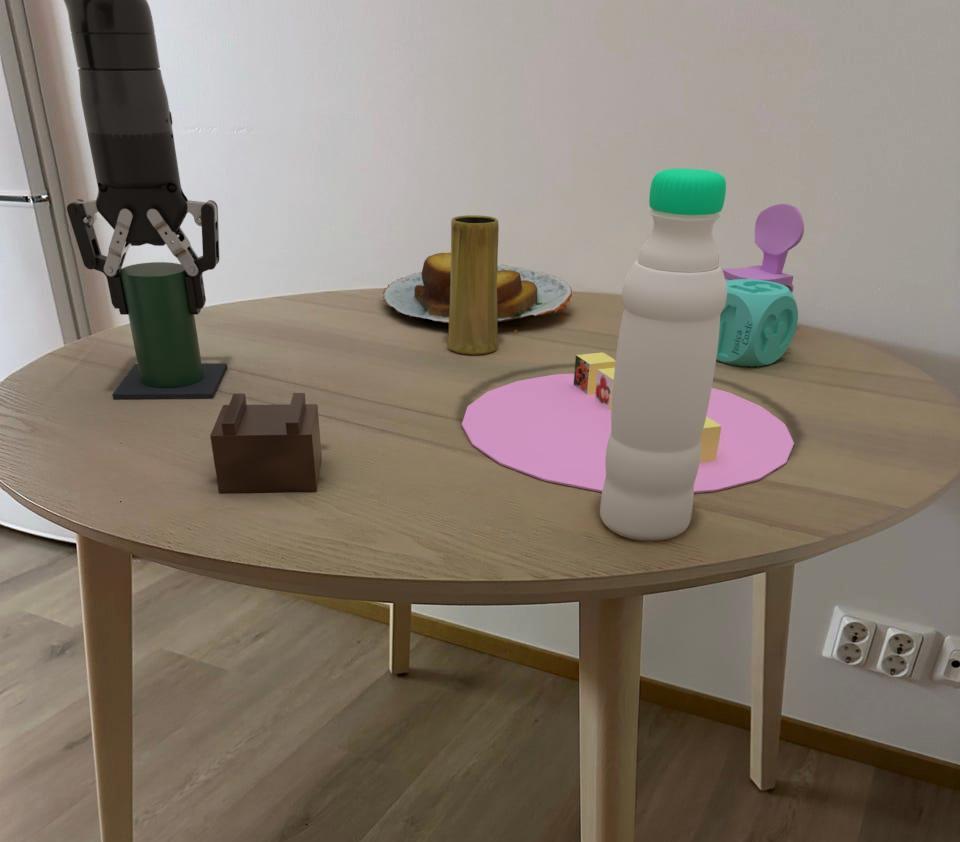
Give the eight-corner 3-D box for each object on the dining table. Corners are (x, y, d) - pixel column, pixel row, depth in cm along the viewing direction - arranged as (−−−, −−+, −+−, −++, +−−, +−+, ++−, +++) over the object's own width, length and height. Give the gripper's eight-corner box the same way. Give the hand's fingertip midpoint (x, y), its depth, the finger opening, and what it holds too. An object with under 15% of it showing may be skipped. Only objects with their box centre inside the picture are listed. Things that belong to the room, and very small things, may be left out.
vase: (506, 345, 112) (510, 217, 104) (485, 358, 107) (488, 226, 99) (460, 337, 114) (462, 212, 106) (438, 350, 109) (438, 220, 101)
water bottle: (580, 520, 73) (611, 168, 59) (640, 496, 77) (682, 161, 63) (647, 553, 69) (698, 182, 55) (707, 527, 72) (769, 173, 58)
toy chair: (700, 327, 120) (719, 201, 112) (754, 321, 123) (777, 198, 115) (741, 345, 114) (764, 213, 105) (796, 338, 117) (823, 209, 109)
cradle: (218, 493, 76) (208, 423, 72) (230, 459, 82) (221, 393, 78) (316, 491, 76) (310, 422, 73) (321, 458, 82) (316, 392, 79)
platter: (680, 362, 108) (684, 333, 106) (867, 467, 83) (877, 431, 81) (419, 390, 98) (418, 358, 96) (543, 518, 73) (546, 479, 71)
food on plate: (606, 320, 122) (610, 268, 118) (439, 345, 111) (439, 289, 108) (506, 279, 140) (508, 232, 136) (355, 297, 130) (352, 247, 126)
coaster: (113, 399, 94) (112, 394, 93) (135, 368, 102) (134, 363, 102) (213, 398, 95) (212, 393, 94) (227, 367, 103) (226, 363, 102)
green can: (148, 368, 100) (134, 388, 95) (128, 261, 94) (112, 276, 89) (208, 368, 101) (197, 387, 96) (192, 262, 95) (180, 276, 89)
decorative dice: (694, 353, 111) (704, 284, 106) (737, 343, 115) (749, 275, 110) (747, 371, 105) (760, 299, 101) (790, 359, 109) (805, 289, 105)
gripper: (35, 129, 81) (78, 323, 91) (202, 131, 82) (227, 322, 92) (61, 121, 87) (98, 303, 97) (215, 123, 88) (238, 303, 98)
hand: (161, 312), depth 94 cm, fingers closed on green can, 6 cm apart
